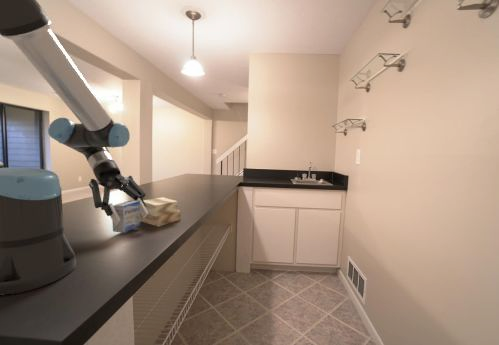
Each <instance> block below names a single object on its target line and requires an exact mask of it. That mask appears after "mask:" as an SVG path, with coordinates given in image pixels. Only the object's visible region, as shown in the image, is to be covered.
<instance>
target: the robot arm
mask: <svg viewBox="0 0 499 345" xmlns="http://www.w3.org/2000/svg"><path fill="white" fill-rule="evenodd" d="M51 24H52V21H51V19H50V17H49V16H48V15H47V14H46V12H45V11H44V9H43V7H42V6H41V5H40V3H39V2H38V1H37V0H0V36H1V37H2V38H6V39H7V40H11V41H12V42H13V43H14V44H15V46H16V47H17V48H18V49H19V50H20V51H21V53H22V54H23V55H24V56H25V57H26V58H27V60H28V61H29V62H30V64H32V66H33V67H34V69H35V70H37V72H38V73H39V74H40V75H41V77H42V78H43V79H44V80H45V81H46V83H48V85H49V86H50V87H51V88H52V90H53V91H54V92H55V93H56V95H58V97H59V98H60V99H61V100H62V102H64V104H65V105H66V107H67V108H68V109H69V110H70V111H71V113H72V114H73V115H74V116H75V117H76V119H77V120H78V121H79V122H80V123H76V122H74V121H73V120H72V119H69V118H67V117H58V118H55V119H54V120H52V122H51V123H50V124H49V127H48V130H47V132H48V133H47V134H48V135H49V137H50V138H52V139H53V140H55V141H57V142H58V143H59V144H62V145H64V146H66V147H67V148H71V149H72V150H74V151H76V152H78V153H80V154H82V155H83V156H84V157H85V159H86V160H87V162H88V165H89V167H90V168H91V171H92V172H93V174H94V176H95V178H96V179H95V178H91V179H90V181H89V183H88V186H89V188H90V189H91V193H92V198H93V205H94V208H95V209H99V208H100V210H101V211H104V212H105V214H106V216H107V217H110V218H111V220H112V221H113V223H114V225H118V223H119V222H120V218H119V216H118V214H117V212H116V210H115V208H114V206H113V205H114V204H113V202H112V203H111V202H110V197H111V196H110V194H111V190H112V191H113V190H119V191H120V192H124V193H125V194H126V195H127V196H128V197H130V198H131V199H133V201H140V213H141V215H142V217H143V218H145V217H146V216H147V214H148V211H147V210H146V208H145V206H146V204H145V203H144V201H143V200H144V198H145V197H146V196H147V194H146V193H145V192H144V190H143V189H142V188H141V187H140V185H138V184H137V182H136V181H135V179H134V178H133V176H132V175H128V177H126V176H124V175H122V173H121V170H120V168H119V166H118V165H117V163H116V161H115V159H114V157H113V155H112V154H111V152H110V151H109V149H108V148H121V147H125V146H126V145H128V143H129V141H130V130H129V128H128V127H127V126H126V125H125V124H123V123H119V122H115V121H114V120H113V118H111V116H110V114H109V113H108V111H107V110H106V108H105V107H104V106H103V104H102V103H101V101H100V99H99V98H98V97H97V95H96V93H95V92H94V90H93V89H92V88H91V86H90V85H89V83H88V82H87V80H86V79H85V77H84V76H83V75H82V73H81V72H80V71H79V69H78V68H77V66H76V64H75V63H74V62H73V60H72V58H71V57H70V56H69V54H68V53H67V51H66V49H65V48H64V47H63V45H62V43H60V41H59V40H58V38H57V37H56V35H55V34H54V32H53V30H52V29H51ZM99 185H100V186H102V187H104V188H103V196H101V191H100V187H99ZM62 193H63V192H62V187H61V183H60V178H59V176H58V174H57V173H55V172H54V171H52V170H49V169H43V168H34V167H4V162H2V161H0V295H1V294H11V295H15V293H16V294H20V293H25V292H29V291H33V290H35V289H39V288H42V287H45V286H47V285H50V284H52V283H54V282H56V281H58V280H61V279H63V278H64V277H66V276H67V275H68V274H70V273H72V271H73V270H74V269H75V268H76V266H77V261H76V260H77V258H76V253H75V251H74V249H73V248H72V246H71V245H70V243H69V241H68V238H67V237H66V236H65V228H64V216H63V215H64V213H63V198H62V197H63V196H62V195H63V194H62ZM102 197H103V198H102ZM109 202H110V203H109ZM112 221H111V222H112ZM113 223H112V224H113Z"/></svg>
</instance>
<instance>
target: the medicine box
mask: <svg viewBox="0 0 499 345" xmlns="http://www.w3.org/2000/svg"><path fill="white" fill-rule="evenodd" d="M113 206H114V208H115V210H116V212H117V214H118V216H119V218H120V222H119V223H118V225H114V223H113V221H111V222H112V231H113V232H114V233H128V232H129V231H131V230H133V229H135V228H138V227H139V226H141V224H142V223H141V221H140V201H135V200H128V201H123V202H120V203H118V204H117V203H116V204H113Z"/></svg>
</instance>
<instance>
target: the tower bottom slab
mask: <svg viewBox="0 0 499 345" xmlns="http://www.w3.org/2000/svg"><path fill="white" fill-rule="evenodd" d="M181 217H182V216H181V210H179V209H178V212H173V213H169V214H165V215H160V216H156V217H155V216H153V215H150V214H147V216H146V217H145V218H143V217H142V215H141V213H140V222H142V223H144V224H148V225H153V226H155V227H158V228H159V227H162V226H164V225H167V224H171V223H173V222H177V221H180V220H181Z"/></svg>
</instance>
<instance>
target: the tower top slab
mask: <svg viewBox="0 0 499 345" xmlns="http://www.w3.org/2000/svg"><path fill="white" fill-rule="evenodd" d="M143 201H144V203H145V204H146V206H145V208H146V210H147V211H148V214H150V215H153V216H155V217H156V216H160V215H165V214H169V213H173V212H178V210H179V206H178V204H179V202H178V200H175V199H170V198H167V197H163V196H162V197H156V198H150V199H145V200H144V199H143Z"/></svg>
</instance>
